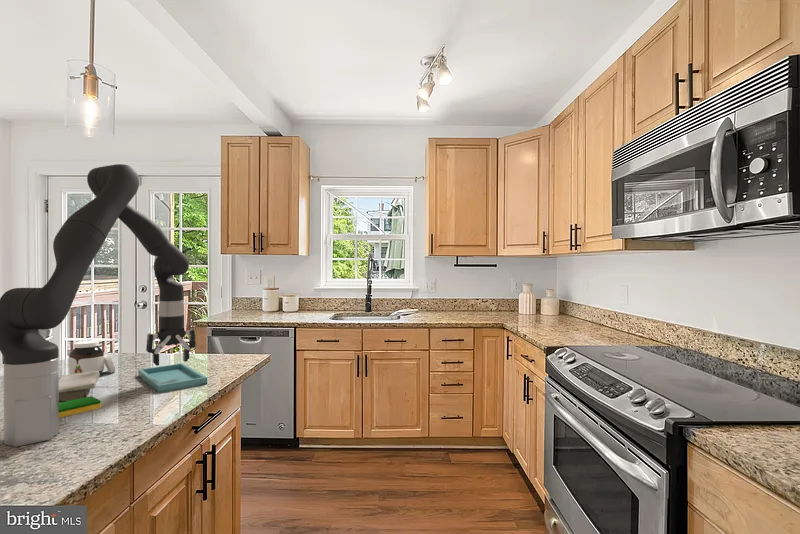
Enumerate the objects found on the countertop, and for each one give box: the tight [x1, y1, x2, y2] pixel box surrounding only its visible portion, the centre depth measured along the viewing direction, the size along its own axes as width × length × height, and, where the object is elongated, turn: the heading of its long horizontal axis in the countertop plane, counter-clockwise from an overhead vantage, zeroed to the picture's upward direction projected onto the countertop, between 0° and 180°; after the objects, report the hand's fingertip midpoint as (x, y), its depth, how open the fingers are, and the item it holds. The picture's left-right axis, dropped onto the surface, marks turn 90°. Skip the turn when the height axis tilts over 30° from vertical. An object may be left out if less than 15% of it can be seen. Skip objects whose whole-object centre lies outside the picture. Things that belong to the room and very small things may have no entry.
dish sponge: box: [59, 395, 102, 419], centre depth 110 cm, size 7×14×2 cm, turn 143°
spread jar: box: [67, 340, 116, 375], centre depth 147 cm, size 12×11×12 cm
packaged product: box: [59, 371, 101, 402], centre depth 124 cm, size 18×5×10 cm
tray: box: [137, 362, 208, 394], centre depth 141 cm, size 26×14×2 cm, turn 43°
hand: (171, 363), depth 141 cm, fingers open, 8 cm apart
